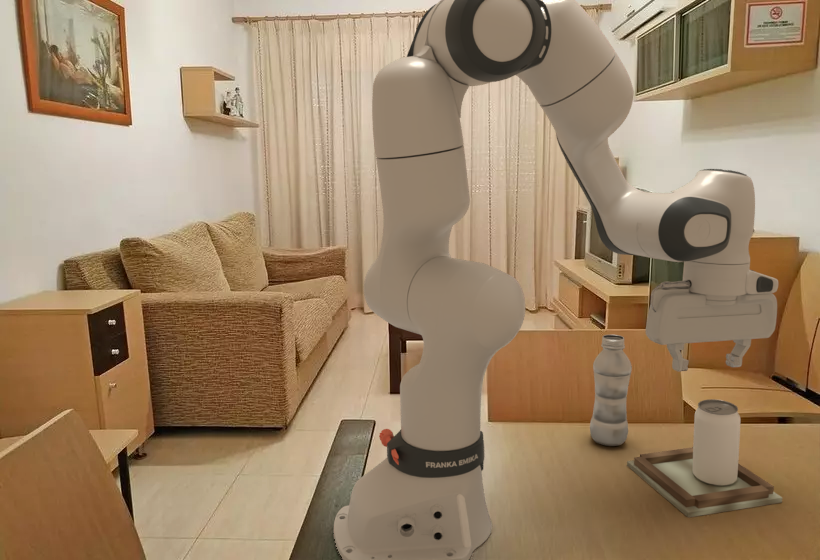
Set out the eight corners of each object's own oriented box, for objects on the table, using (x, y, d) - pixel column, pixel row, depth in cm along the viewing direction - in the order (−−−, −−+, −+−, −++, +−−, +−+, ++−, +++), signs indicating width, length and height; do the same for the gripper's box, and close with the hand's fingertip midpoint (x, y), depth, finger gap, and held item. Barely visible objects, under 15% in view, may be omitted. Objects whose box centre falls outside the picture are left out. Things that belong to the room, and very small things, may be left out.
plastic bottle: (586, 434, 118) (590, 331, 114) (624, 435, 117) (629, 332, 113) (591, 449, 111) (596, 342, 107) (631, 451, 110) (636, 343, 107)
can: (746, 482, 97) (751, 411, 95) (711, 490, 96) (715, 418, 93) (716, 463, 103) (720, 395, 101) (683, 470, 102) (685, 401, 99)
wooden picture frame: (687, 517, 90) (688, 504, 90) (626, 465, 105) (627, 454, 105) (781, 502, 93) (783, 490, 93) (709, 454, 109) (710, 443, 108)
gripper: (666, 286, 88) (659, 379, 90) (788, 280, 92) (778, 370, 95) (640, 278, 94) (634, 366, 96) (756, 273, 98) (747, 357, 101)
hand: (706, 368), depth 96 cm, fingers open, 8 cm apart
